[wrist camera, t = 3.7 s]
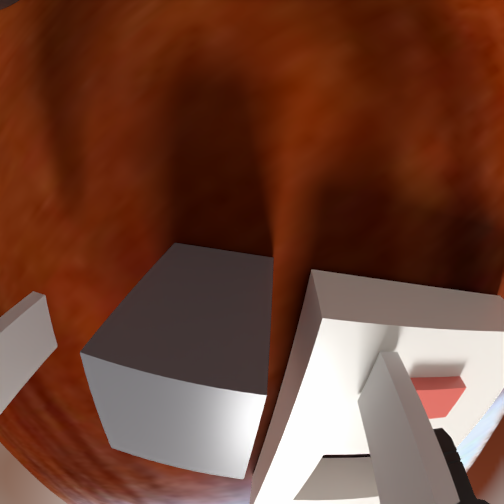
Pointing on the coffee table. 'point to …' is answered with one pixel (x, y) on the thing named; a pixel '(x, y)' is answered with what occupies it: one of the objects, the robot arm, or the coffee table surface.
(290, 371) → the socket plate
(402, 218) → the coffee table surface
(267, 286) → the plug
